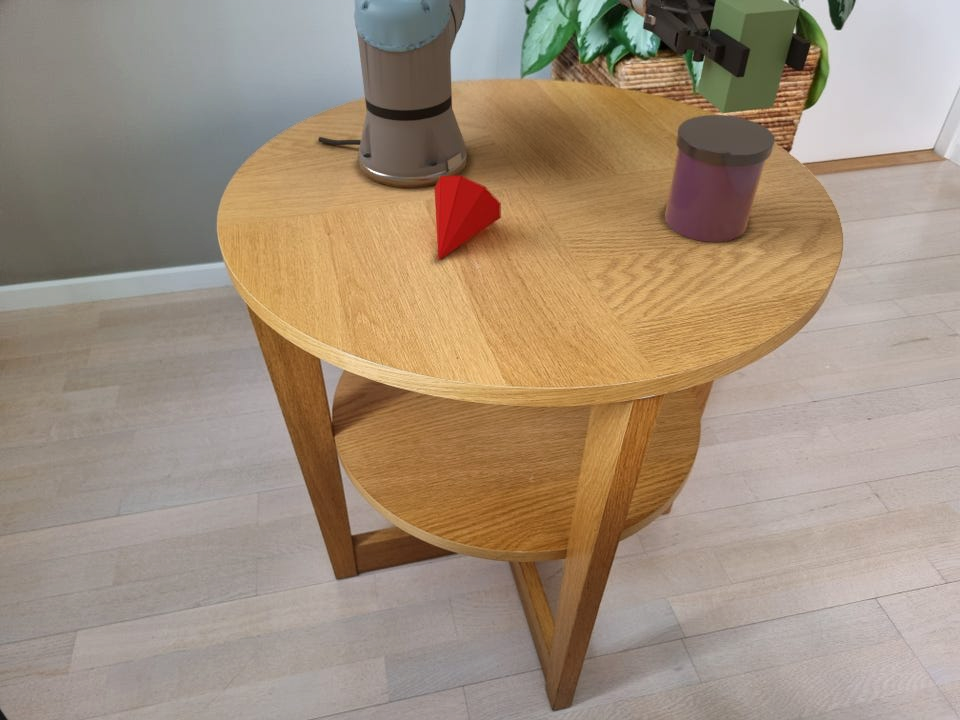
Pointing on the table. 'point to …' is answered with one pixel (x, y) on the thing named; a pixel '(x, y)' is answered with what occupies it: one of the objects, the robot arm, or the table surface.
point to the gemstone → (462, 211)
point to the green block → (768, 33)
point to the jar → (716, 176)
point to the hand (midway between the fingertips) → (773, 60)
